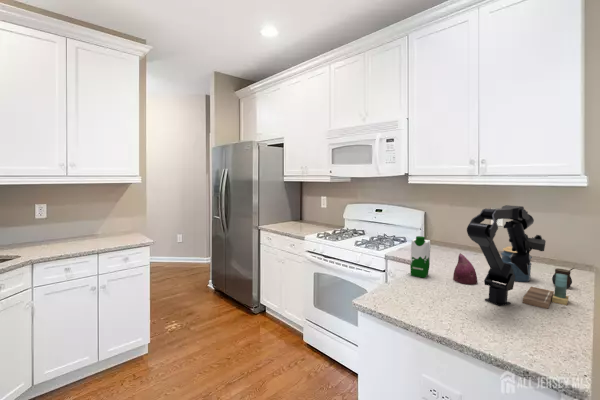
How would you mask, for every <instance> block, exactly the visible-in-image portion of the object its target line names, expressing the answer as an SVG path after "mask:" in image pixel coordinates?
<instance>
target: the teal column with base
mask: <svg viewBox="0 0 600 400" xmlns="http://www.w3.org/2000/svg"><path fill="white" fill-rule="evenodd" d="M567 289H568V288H567V275H565V274H556V280H555V285H554V295H553V297H552V301H551V303H555V304H560V305H563V306H568V302H569V295H567Z"/></svg>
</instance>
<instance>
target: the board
mask: <svg viewBox="0 0 600 400" xmlns="http://www.w3.org/2000/svg"><path fill="white" fill-rule="evenodd" d="M554 293H555V290H550V289H545V288H540V287H536V286H530V287H529V288H528V290H527V291H526V293H524V296H523V297H522V304H524V305H525V304H526V305H529V306H534V307H538V308H542V309H547V310H548V309H549V307H550V305H551V303H552V297H553V295H554Z"/></svg>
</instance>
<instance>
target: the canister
mask: <svg viewBox="0 0 600 400" xmlns="http://www.w3.org/2000/svg"><path fill="white" fill-rule="evenodd" d="M502 250H503V251H502V252H500V256H501V259H502V261H503V263H507V264H510V265H511V266H512V269H513V270H514V271H513V272H514V274H515V282H520V283H526V282H530V281H531V273H532V272H531V270H532V264H533V263H532V262H531V261H530V265H528V275H525V274H524V273H523V272H522V271H521V270H520V269H519V268H518V267H517V266H516V265H515V264H513V263H512V262H511V259H510V258H511V255H512V254H513V253H517V252H516V251H512V245H511V246H508V245H507V246H506V247H503V248H502ZM529 254H531V251H530V252H529ZM530 258H531V259H532V258H533V257H532V255H530Z"/></svg>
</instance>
